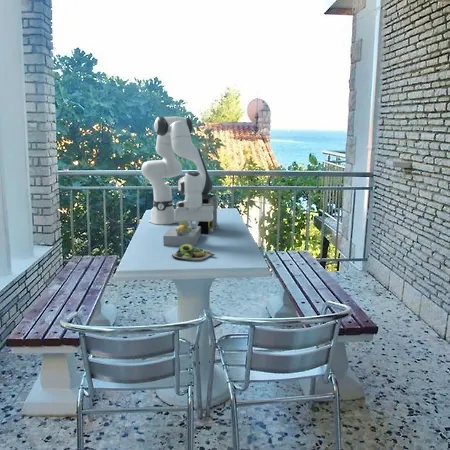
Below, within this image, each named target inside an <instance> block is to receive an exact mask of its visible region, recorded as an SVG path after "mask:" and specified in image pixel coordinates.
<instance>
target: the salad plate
mask: <svg viewBox="0 0 450 450" xmlns="http://www.w3.org/2000/svg"><path fill="white" fill-rule="evenodd" d="M215 255H216V254H215V253H212V252H211V251H210V250H209V249H204V248H201V247H199V248H196V247H195V246H192V245H191V244H183V245H181V246H179V247H178V250H177V251H175V252H174V253H172V255H171V257H172V258H173V259H175V260H179V261H188V262H189V261H191V262H192V261H194V262H197V261H198V262H199V261H200V262H201V261H203V260H206V259H208V258H210V257H211V256H212V257H213V256H215Z"/></svg>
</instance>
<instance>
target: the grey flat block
mask: <svg viewBox="0 0 450 450" xmlns="http://www.w3.org/2000/svg"><path fill="white" fill-rule="evenodd" d="M178 226H179V225H171V226H170V227H169V229H168V230H166V231H167V232H165V233H164V234H163V236H162V238H163V240H162V241H163V246H174V247H178V246H179V247H180V246H181V245H183V244H191V245H192V246H193V247H195V246H196V244H197V243H198V241H199V240H200V238H201V235H202V234H201V226H198V225H197V230H190V231H189V232H182V235H181V236H178V235H177V231H176V228H177V227H178Z"/></svg>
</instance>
